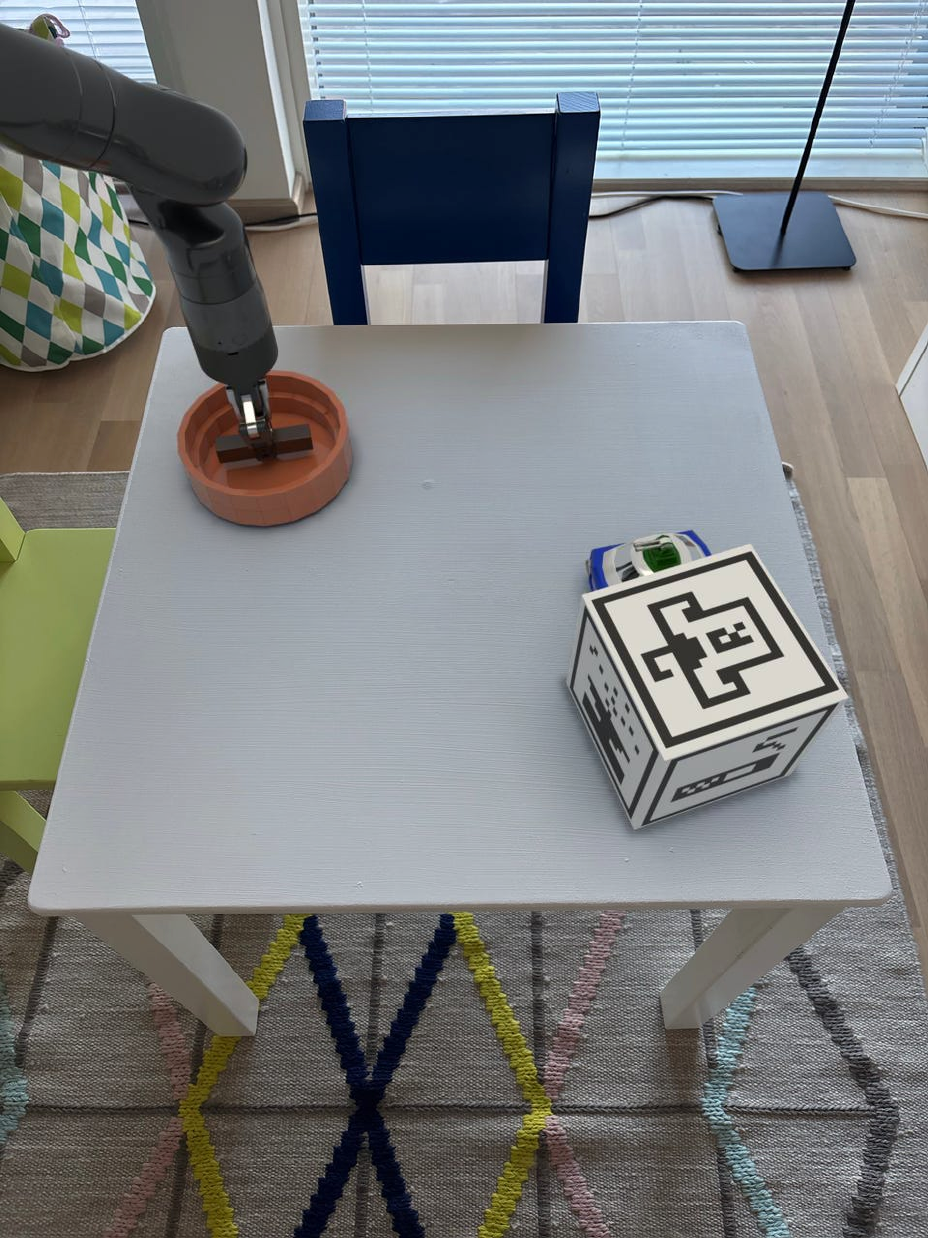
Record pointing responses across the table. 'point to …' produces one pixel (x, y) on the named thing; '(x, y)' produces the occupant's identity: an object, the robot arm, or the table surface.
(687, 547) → the toy car
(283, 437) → the stick
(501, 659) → the table surface
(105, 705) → the table surface
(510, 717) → the table surface
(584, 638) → the block
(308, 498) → the bowl
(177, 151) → the robot arm
